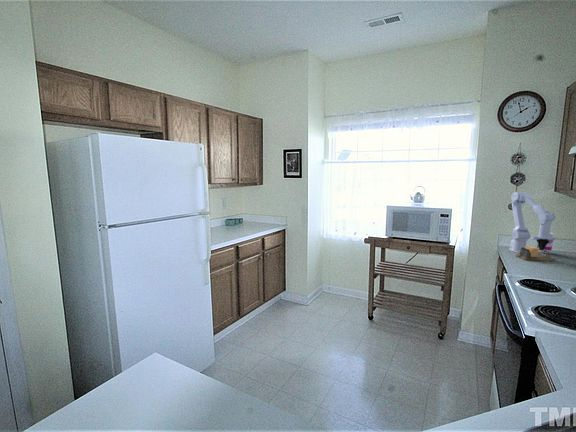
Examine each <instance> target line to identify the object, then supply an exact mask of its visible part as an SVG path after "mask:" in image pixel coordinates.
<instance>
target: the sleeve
mask: <svg viewBox="0 0 576 432" xmlns="http://www.w3.org/2000/svg"><path fill="white" fill-rule="evenodd" d="M525 248H526V249H529V251H530V254H529V256H530V257H538V255H539V253H538V252H539V248H537V246H529V245H526V247H525Z"/></svg>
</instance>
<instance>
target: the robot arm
mask: <svg viewBox="0 0 576 432" xmlns="http://www.w3.org/2000/svg"><path fill="white" fill-rule="evenodd" d="M510 199H511V208H512V209H511V210H512V215H513V220H514V226H515V227H514V228H513V229H512V234H511V236H512V238H513V239H511V240H510V245H509V248H508V250H509V251H511V252H514V253H515V254H520V249H521V248H526V246H527V242H528V240H529V239H531V240H536V242H537V245H539V250H544V248H545V246H546V245H547V244H548V243H549V240H553V241H556V237H555V236H554V237H549V234H550V233H551V227H552V222H553V221H554V220H555V219H556V216H555V214H554V213H553V212H550V211H548V210H547V209H546V208H545V207H544V205H540V204H538V203H537V202H536V201H535V199H533V197H532V194H530V193H529V192H527V191H526V192H525V191H524V192H522V191H521V192H520V191H519V192H517V191H516V192H513V193H512V194H511V196H510ZM525 203H527V205H529V206H530V207H531V208H532V211H533V212H534V213H535V214H536V215H537V216H538V220H539V228H538V235H533V236H531V233H530V231H529V228H528V227H526V226H525V221H524V215H523V209H522V206H523V205H524V204H525Z"/></svg>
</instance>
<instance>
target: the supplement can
mask: <svg viewBox="0 0 576 432" xmlns="http://www.w3.org/2000/svg"><path fill="white" fill-rule="evenodd" d="M549 237H555V235H554V233H553V232H550V234H549ZM553 243H554V240H549V243H548V244H547V245H546V246H545V248H544V250H539V252H551V253H552V249H553ZM536 248H539V245H538V244H537V246H536Z"/></svg>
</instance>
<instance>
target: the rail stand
mask: <svg viewBox="0 0 576 432" xmlns="http://www.w3.org/2000/svg"><path fill="white" fill-rule="evenodd" d="M529 254H530V251H529V249H526V247H525V248H521V249H520V253H515V257H517V258H519V259H521V260H524V261H527V262H529V261H530V262H556V258H553V257H552V251H551V252H538V257H530V256H529Z"/></svg>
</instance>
